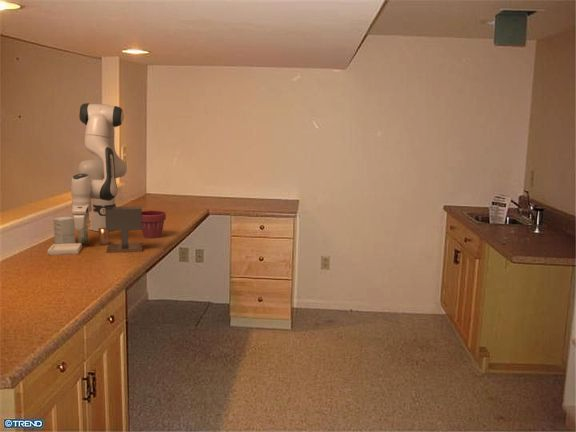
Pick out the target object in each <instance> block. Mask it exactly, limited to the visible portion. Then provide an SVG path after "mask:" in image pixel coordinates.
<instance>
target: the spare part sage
mask: <svg viewBox="0 0 576 432" xmlns="http://www.w3.org/2000/svg"><path fill="white" fill-rule="evenodd" d="M88 227H89V226H88V225H87V226H86V227H85V228H84V237H80V232H79V230H77V237H78V239H77V241H78V243H82V244H87V243H89V230H88Z"/></svg>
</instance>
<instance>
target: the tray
mask: <svg viewBox="0 0 576 432" xmlns="http://www.w3.org/2000/svg"><path fill="white" fill-rule="evenodd" d="M82 249H83V243H79V242H78V243H77V242H76V243H71V244H57V243H53V244H52V245H51V246H50V247H49V248H48V249H47V256H64V255H65V256H66V255H78V254H80V252H81V250H82Z"/></svg>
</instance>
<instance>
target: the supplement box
mask: <svg viewBox="0 0 576 432" xmlns="http://www.w3.org/2000/svg"><path fill="white" fill-rule="evenodd" d="M53 233H54V234H53V235H54V244H71V243H77V242H76V229H75V224H74V217H72V216H71V217H70V216H62V217H61V216H60V217H54V218H53Z"/></svg>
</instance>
